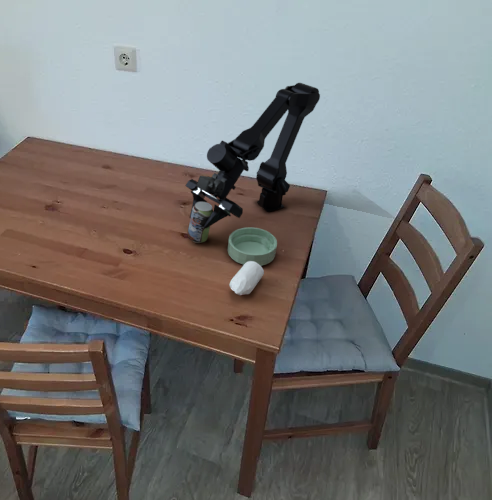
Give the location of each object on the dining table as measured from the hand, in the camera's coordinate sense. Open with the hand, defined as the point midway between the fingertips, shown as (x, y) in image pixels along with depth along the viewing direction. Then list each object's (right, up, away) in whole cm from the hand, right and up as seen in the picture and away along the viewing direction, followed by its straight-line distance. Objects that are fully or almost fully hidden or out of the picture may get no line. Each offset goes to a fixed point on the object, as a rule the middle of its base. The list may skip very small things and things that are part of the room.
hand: (197, 223), depth 155 cm
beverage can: (+1, -5, +5) cm, 7 cm away
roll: (+11, -18, -13) cm, 25 cm away
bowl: (+15, -9, 0) cm, 18 cm away
